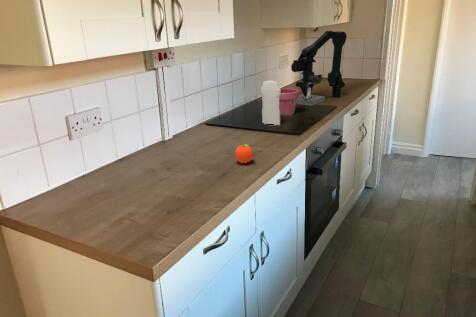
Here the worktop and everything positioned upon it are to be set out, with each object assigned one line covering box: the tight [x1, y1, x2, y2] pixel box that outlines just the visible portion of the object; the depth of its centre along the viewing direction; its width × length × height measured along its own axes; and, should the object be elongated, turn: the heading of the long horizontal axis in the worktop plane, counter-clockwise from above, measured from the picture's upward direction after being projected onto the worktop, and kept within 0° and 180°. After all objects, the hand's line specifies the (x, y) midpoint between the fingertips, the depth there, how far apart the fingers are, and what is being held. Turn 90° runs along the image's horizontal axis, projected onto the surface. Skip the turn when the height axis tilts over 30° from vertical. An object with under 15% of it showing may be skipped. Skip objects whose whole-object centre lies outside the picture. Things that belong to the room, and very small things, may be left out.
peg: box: [304, 87, 312, 99], centre depth 243 cm, size 4×4×7 cm
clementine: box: [234, 144, 254, 164], centre depth 152 cm, size 8×7×7 cm
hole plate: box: [296, 93, 326, 107], centre depth 245 cm, size 16×16×3 cm
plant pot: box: [279, 88, 300, 116], centre depth 218 cm, size 14×14×13 cm
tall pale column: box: [260, 79, 282, 126], centre depth 198 cm, size 11×4×22 cm, turn 61°
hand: (307, 96), depth 244 cm, fingers closed on peg, 4 cm apart
